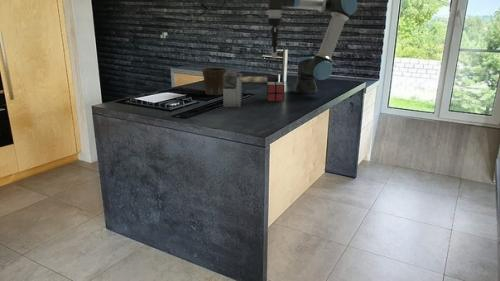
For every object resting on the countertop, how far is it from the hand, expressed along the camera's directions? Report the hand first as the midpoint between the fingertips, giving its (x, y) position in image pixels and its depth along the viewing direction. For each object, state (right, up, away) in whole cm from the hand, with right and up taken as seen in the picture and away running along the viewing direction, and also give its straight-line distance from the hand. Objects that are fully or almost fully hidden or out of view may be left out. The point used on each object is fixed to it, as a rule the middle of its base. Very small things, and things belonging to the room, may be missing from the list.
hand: (273, 57), depth 232 cm
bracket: (-24, -27, -2) cm, 36 cm away
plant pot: (-37, -19, +25) cm, 48 cm away
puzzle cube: (+1, -24, +8) cm, 26 cm away
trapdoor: (-17, -17, -6) cm, 24 cm away
